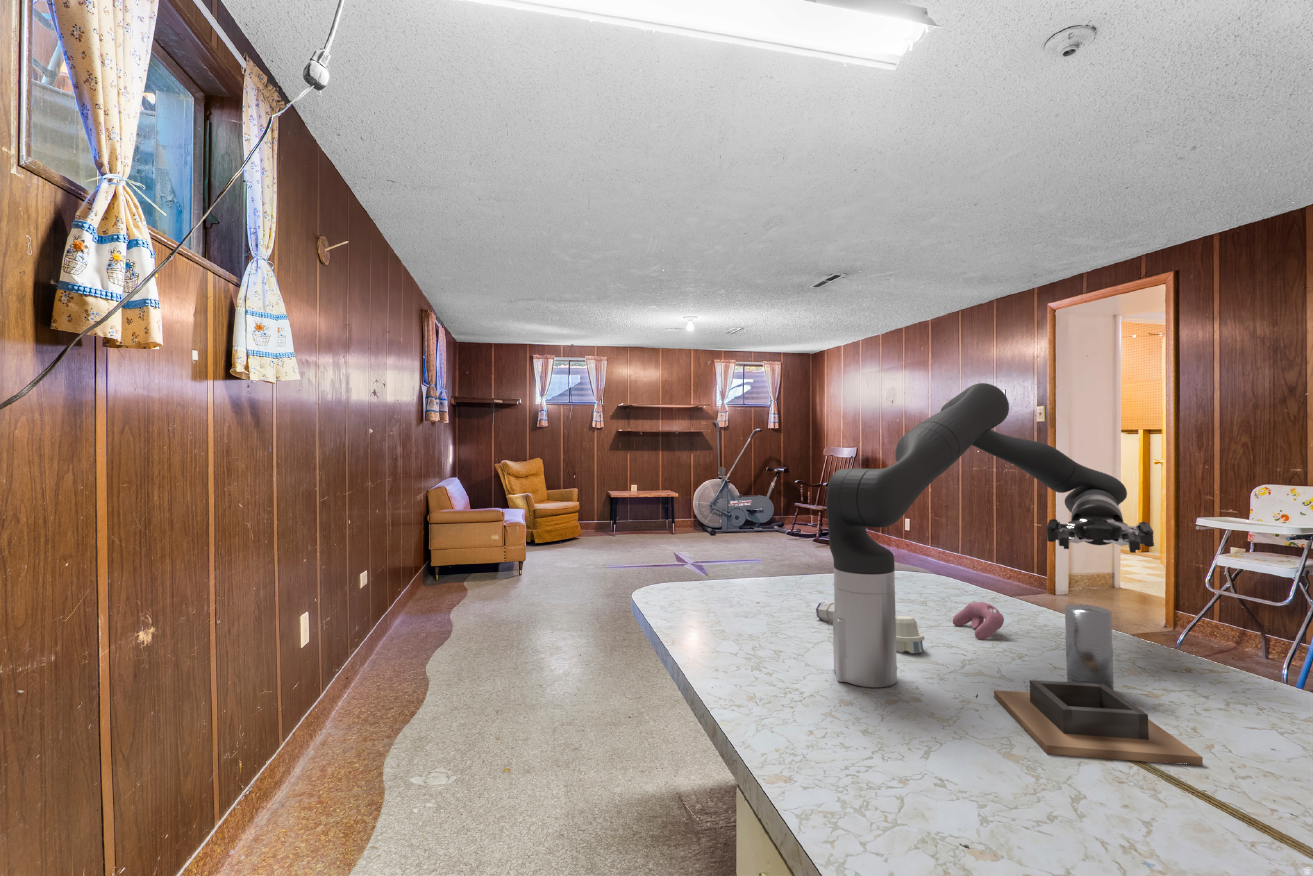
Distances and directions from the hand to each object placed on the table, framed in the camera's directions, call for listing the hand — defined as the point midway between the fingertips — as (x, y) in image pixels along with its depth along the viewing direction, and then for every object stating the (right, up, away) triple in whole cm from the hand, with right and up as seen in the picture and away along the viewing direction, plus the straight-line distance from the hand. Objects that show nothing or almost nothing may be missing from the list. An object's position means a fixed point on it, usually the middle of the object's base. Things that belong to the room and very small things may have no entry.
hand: (1098, 545), depth 93 cm
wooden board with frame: (-16, -20, -18) cm, 31 cm away
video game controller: (-8, -21, +21) cm, 31 cm away
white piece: (-30, -22, +20) cm, 42 cm away
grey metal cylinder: (-6, -21, -6) cm, 22 cm away
